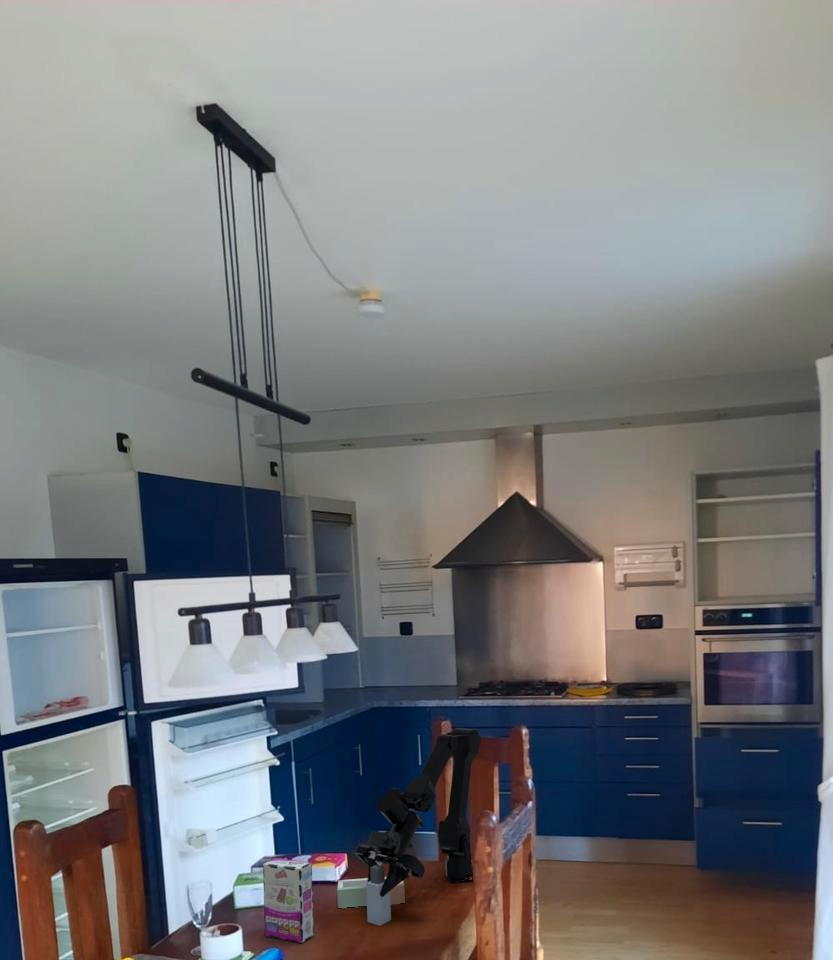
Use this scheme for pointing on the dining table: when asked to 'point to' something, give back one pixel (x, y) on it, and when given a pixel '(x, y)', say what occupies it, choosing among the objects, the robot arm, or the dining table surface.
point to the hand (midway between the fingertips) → (374, 894)
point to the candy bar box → (288, 900)
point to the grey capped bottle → (377, 898)
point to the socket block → (363, 893)
